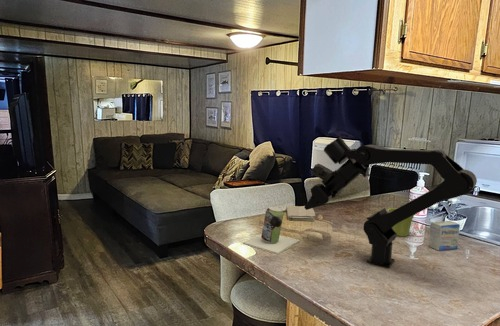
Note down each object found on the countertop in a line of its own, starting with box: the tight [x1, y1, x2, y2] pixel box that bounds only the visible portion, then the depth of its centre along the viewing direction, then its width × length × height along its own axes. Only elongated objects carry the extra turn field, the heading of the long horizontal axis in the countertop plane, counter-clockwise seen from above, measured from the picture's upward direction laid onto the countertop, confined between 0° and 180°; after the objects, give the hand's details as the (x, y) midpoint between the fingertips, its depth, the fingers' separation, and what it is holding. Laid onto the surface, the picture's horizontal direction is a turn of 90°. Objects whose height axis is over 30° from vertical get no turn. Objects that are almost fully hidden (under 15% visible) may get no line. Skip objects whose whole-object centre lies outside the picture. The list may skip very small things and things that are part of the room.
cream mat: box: [242, 233, 300, 255], centre depth 117 cm, size 14×14×1 cm
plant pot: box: [386, 207, 415, 237], centre depth 127 cm, size 9×9×9 cm
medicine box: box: [428, 220, 461, 252], centre depth 114 cm, size 8×4×9 cm, turn 105°
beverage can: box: [261, 205, 284, 243], centre depth 116 cm, size 6×7×12 cm
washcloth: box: [285, 205, 316, 222], centre depth 150 cm, size 12×18×3 cm, turn 178°
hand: (310, 205), depth 114 cm, fingers open, 9 cm apart
